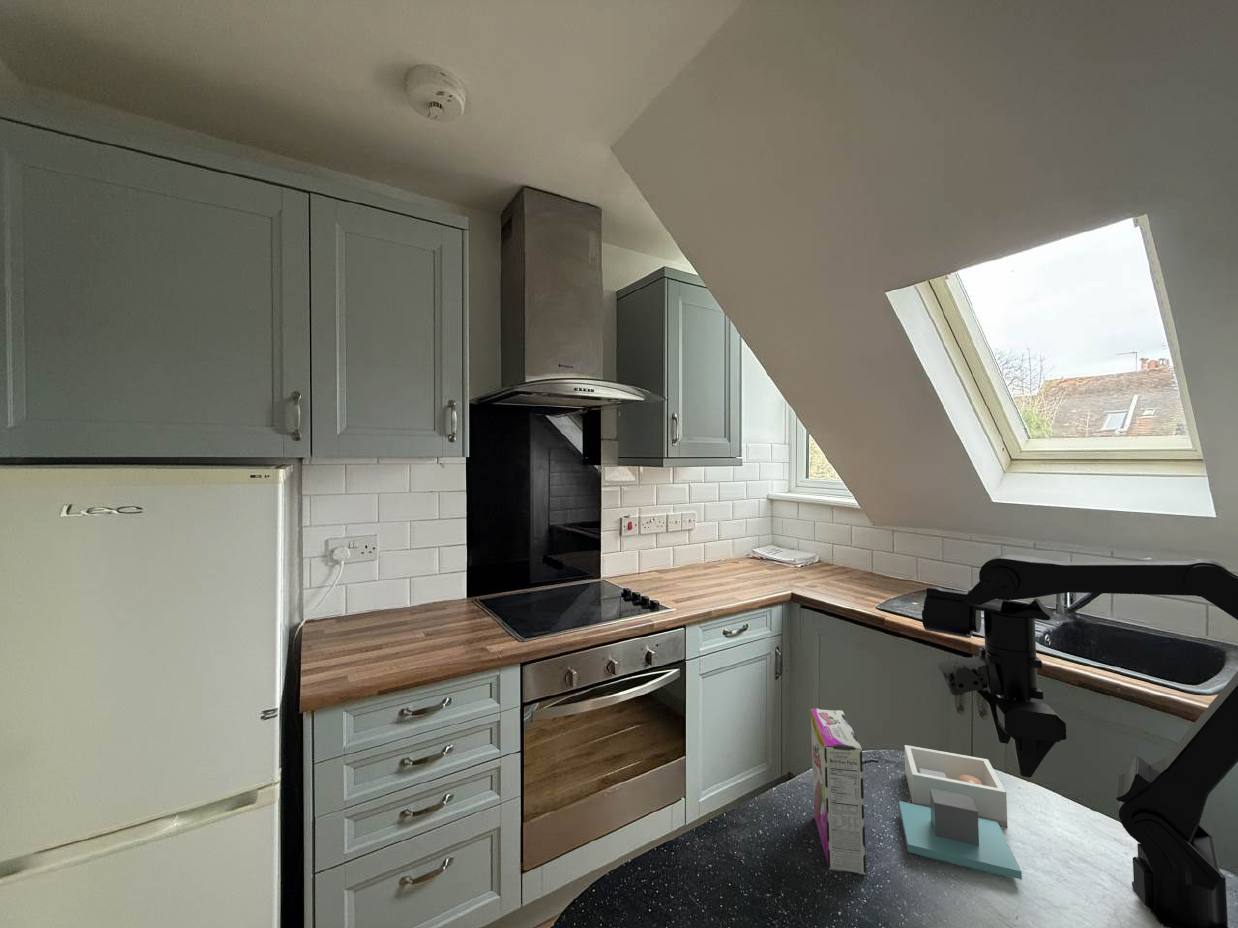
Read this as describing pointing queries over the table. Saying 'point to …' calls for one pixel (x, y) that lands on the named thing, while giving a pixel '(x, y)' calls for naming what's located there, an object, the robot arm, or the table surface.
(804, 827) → the table surface
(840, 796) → the candy bar box
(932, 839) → the lid
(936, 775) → the storage box
